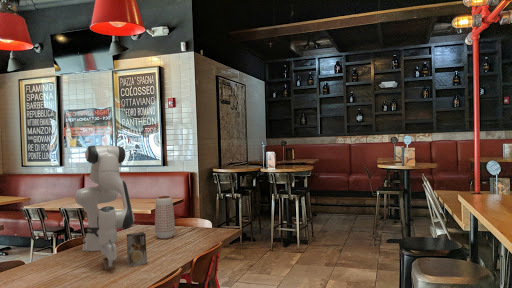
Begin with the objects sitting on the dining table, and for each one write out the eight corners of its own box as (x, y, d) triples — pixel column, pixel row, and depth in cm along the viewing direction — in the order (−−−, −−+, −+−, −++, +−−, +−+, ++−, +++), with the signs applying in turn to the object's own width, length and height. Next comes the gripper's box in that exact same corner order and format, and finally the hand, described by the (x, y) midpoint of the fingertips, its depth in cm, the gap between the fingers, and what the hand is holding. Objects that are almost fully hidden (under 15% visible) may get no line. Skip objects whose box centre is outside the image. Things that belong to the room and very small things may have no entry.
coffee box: (144, 260, 204) (143, 231, 204) (147, 263, 198) (146, 233, 198) (127, 263, 199) (126, 233, 199) (129, 266, 194) (128, 236, 194)
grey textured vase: (179, 236, 257) (177, 196, 257) (164, 240, 246) (163, 198, 246) (165, 234, 264) (164, 195, 265) (151, 238, 253) (149, 197, 253)
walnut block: (103, 268, 193) (103, 258, 193) (112, 266, 196) (112, 256, 196) (105, 270, 189) (105, 260, 189) (114, 268, 192) (114, 258, 192)
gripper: (119, 241, 186) (120, 268, 186) (109, 233, 203) (110, 259, 203) (106, 243, 182) (107, 271, 182) (97, 235, 199) (98, 261, 199)
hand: (108, 264), depth 192 cm, fingers closed on walnut block, 4 cm apart
